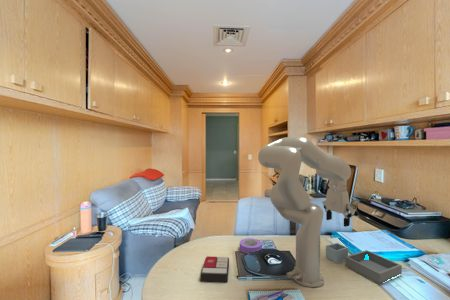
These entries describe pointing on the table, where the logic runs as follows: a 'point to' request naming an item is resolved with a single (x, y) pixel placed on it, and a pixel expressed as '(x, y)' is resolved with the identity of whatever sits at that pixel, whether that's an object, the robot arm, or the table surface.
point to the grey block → (336, 252)
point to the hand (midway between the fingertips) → (337, 222)
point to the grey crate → (373, 266)
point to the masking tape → (250, 245)
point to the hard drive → (335, 241)
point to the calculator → (215, 270)
